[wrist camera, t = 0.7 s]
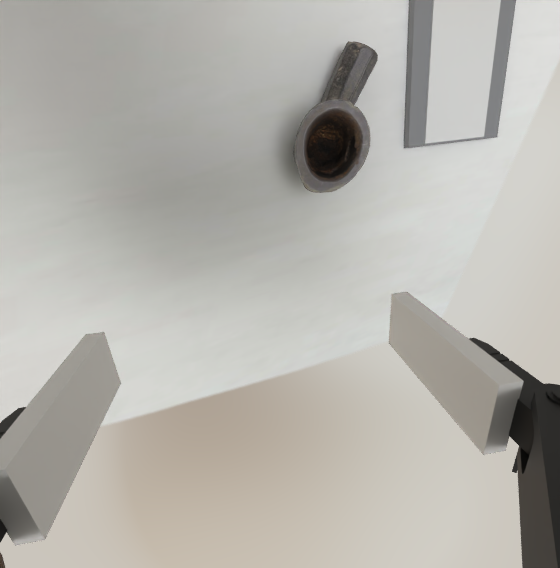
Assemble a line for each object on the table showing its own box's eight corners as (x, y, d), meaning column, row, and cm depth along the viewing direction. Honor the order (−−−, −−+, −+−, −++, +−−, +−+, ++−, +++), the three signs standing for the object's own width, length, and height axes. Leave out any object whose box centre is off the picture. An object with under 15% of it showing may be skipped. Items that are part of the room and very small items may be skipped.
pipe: (376, 71, 31) (420, 45, 24) (320, 196, 35) (344, 206, 28) (321, 39, 30) (351, 0, 22) (269, 173, 33) (280, 177, 26)
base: (414, -146, 26) (422, -159, 25) (527, -149, 27) (540, -163, 26) (403, 147, 34) (409, 147, 33) (490, 137, 35) (498, 136, 34)
